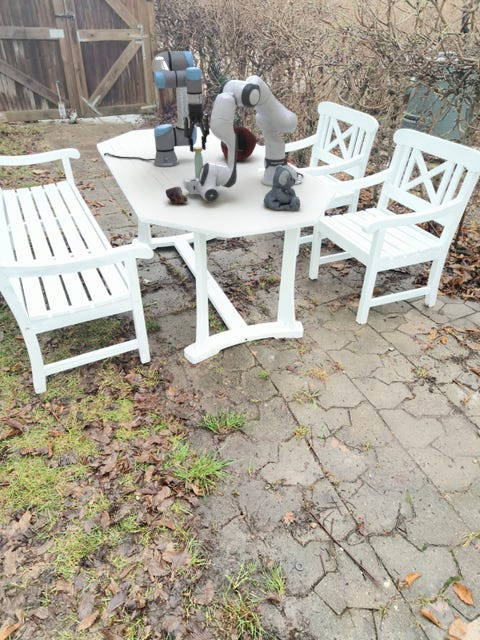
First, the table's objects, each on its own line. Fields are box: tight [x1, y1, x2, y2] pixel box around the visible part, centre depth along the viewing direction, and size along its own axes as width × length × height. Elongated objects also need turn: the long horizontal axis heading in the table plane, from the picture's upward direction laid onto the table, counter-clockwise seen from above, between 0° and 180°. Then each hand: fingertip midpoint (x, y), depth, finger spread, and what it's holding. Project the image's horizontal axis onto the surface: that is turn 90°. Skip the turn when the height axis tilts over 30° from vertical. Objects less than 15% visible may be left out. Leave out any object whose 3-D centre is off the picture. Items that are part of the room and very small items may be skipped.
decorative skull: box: [220, 125, 257, 164], centre depth 297 cm, size 21×24×25 cm
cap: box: [193, 146, 203, 153], centre depth 238 cm, size 4×4×2 cm
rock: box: [165, 186, 188, 204], centre depth 232 cm, size 12×9×10 cm
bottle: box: [193, 151, 204, 178], centre depth 244 cm, size 5×5×22 cm
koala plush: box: [263, 165, 301, 211], centre depth 223 cm, size 17×18×20 cm
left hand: (197, 150), depth 239 cm, fingers open, 7 cm apart
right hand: (199, 178), depth 248 cm, fingers closed on bottle, 4 cm apart
